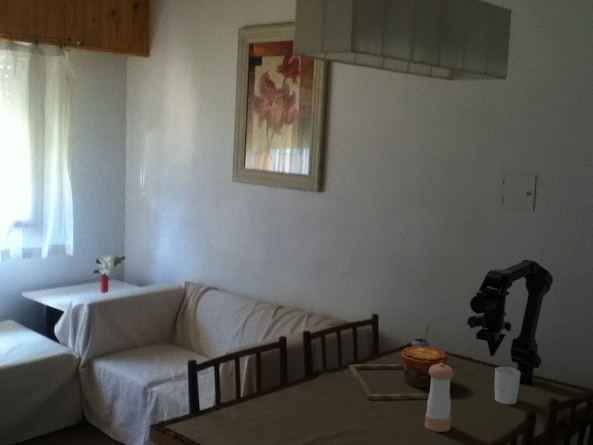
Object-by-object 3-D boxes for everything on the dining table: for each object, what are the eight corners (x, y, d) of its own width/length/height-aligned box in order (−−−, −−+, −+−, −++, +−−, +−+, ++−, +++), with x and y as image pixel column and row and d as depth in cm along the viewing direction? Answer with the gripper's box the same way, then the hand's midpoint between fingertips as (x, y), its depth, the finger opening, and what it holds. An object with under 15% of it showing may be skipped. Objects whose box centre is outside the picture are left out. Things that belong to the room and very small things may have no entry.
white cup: (519, 406, 222) (521, 376, 220) (493, 403, 223) (496, 373, 222) (516, 397, 229) (519, 368, 228) (492, 394, 231) (494, 365, 230)
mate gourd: (409, 363, 260) (412, 324, 258) (410, 356, 267) (412, 318, 266) (430, 365, 259) (432, 325, 257) (429, 358, 266) (432, 320, 264)
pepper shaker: (435, 433, 199) (439, 368, 196) (419, 423, 205) (423, 360, 203) (455, 429, 202) (460, 365, 200) (439, 419, 209) (443, 357, 206)
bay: (417, 367, 256) (417, 364, 255) (445, 398, 226) (445, 395, 226) (348, 367, 252) (349, 364, 252) (368, 399, 222) (368, 396, 222)
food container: (394, 386, 236) (396, 355, 234) (405, 371, 250) (407, 342, 249) (441, 394, 230) (443, 362, 228) (450, 379, 245) (452, 349, 243)
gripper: (480, 300, 240) (477, 344, 242) (461, 310, 224) (458, 357, 226) (513, 305, 234) (509, 350, 236) (496, 316, 219) (492, 365, 221)
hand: (492, 355), depth 230 cm, fingers closed
